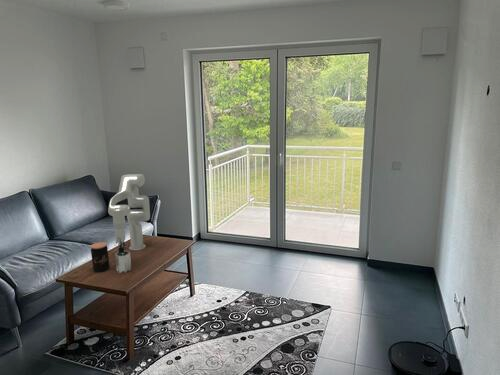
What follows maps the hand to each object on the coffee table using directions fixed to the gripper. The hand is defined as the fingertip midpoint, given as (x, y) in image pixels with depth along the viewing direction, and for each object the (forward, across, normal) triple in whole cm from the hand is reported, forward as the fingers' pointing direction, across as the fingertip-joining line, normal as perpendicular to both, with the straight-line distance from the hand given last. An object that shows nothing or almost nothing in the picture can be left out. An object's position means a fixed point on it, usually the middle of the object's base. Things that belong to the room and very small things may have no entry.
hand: (122, 250), depth 257 cm
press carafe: (+14, -1, 0) cm, 14 cm away
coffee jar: (+14, -4, -16) cm, 22 cm away
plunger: (+10, 0, 0) cm, 10 cm away
